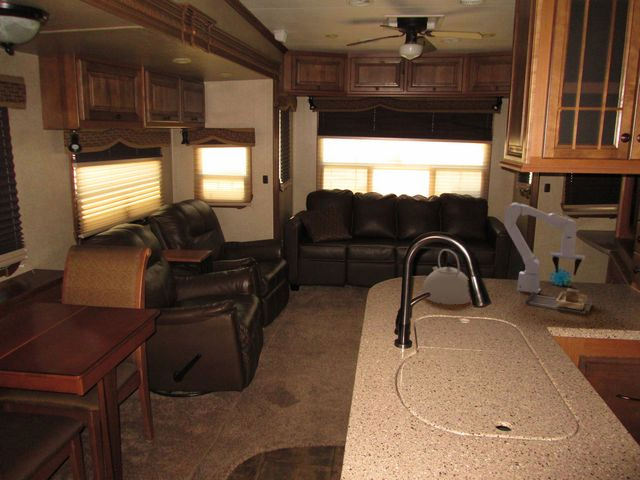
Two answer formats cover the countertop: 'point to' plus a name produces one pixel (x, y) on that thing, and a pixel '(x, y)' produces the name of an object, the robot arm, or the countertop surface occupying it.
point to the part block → (572, 295)
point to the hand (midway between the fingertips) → (565, 273)
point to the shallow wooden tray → (579, 305)
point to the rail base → (550, 303)
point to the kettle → (447, 284)
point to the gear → (561, 277)
